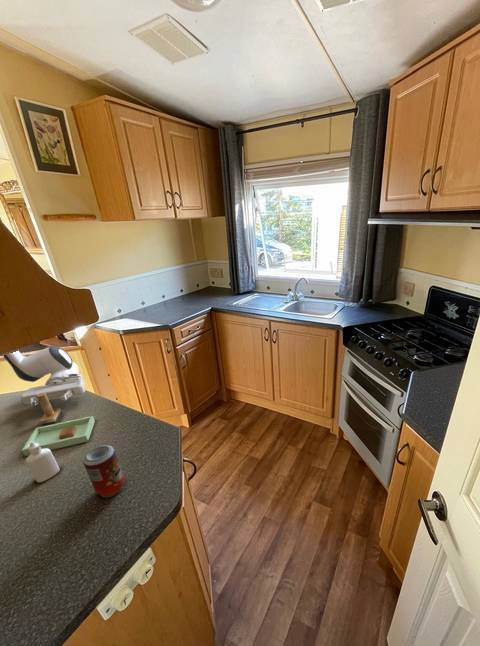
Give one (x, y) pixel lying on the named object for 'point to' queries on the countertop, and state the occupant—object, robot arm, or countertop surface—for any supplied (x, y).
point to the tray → (50, 433)
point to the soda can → (104, 470)
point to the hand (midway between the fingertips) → (48, 401)
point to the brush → (48, 411)
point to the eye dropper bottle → (41, 462)
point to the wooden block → (67, 432)
